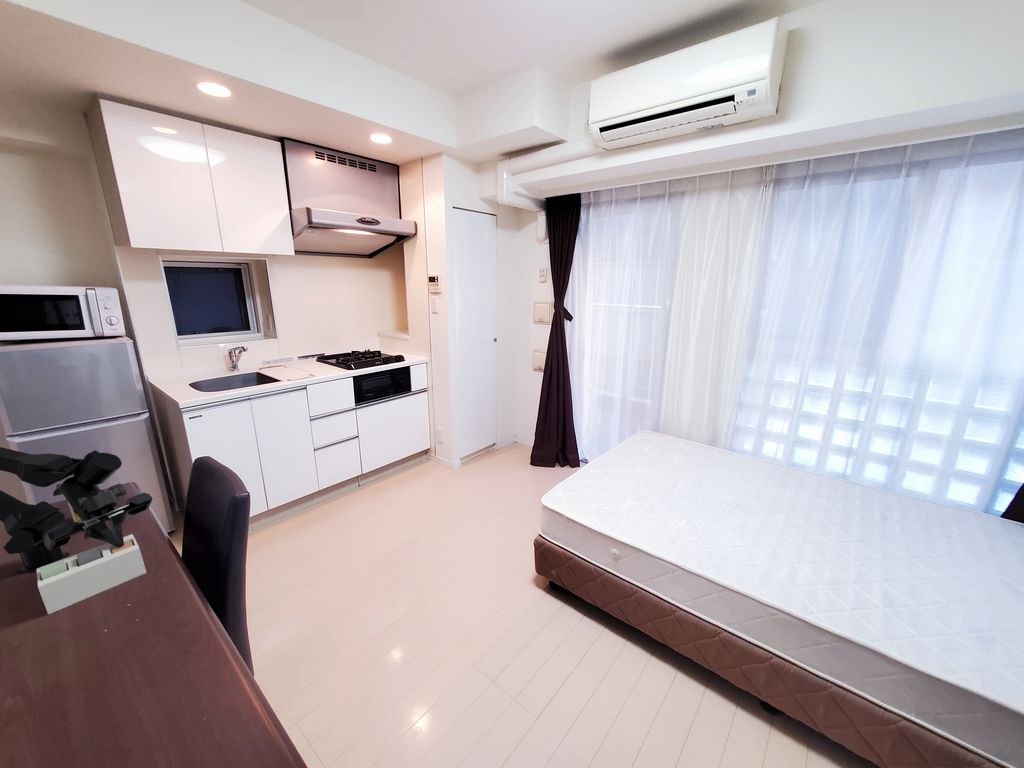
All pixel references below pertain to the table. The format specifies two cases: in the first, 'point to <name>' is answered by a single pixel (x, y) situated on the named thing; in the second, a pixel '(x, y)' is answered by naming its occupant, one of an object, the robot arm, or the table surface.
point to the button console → (91, 576)
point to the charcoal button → (88, 556)
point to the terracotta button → (126, 545)
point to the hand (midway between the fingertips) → (121, 546)
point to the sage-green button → (53, 569)
